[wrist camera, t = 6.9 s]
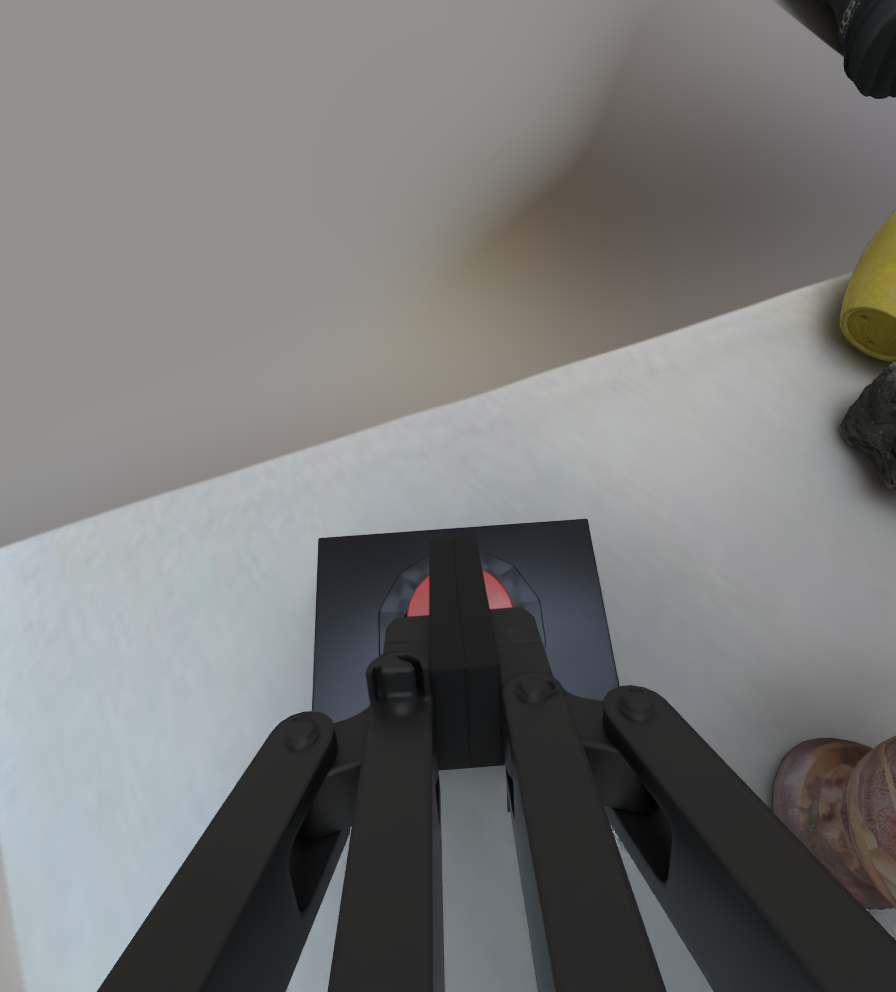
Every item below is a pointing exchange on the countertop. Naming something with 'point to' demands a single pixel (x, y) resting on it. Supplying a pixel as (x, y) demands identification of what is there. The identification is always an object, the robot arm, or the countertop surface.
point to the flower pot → (873, 297)
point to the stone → (876, 424)
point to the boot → (868, 44)
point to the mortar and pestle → (844, 812)
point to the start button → (493, 587)
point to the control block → (503, 553)
